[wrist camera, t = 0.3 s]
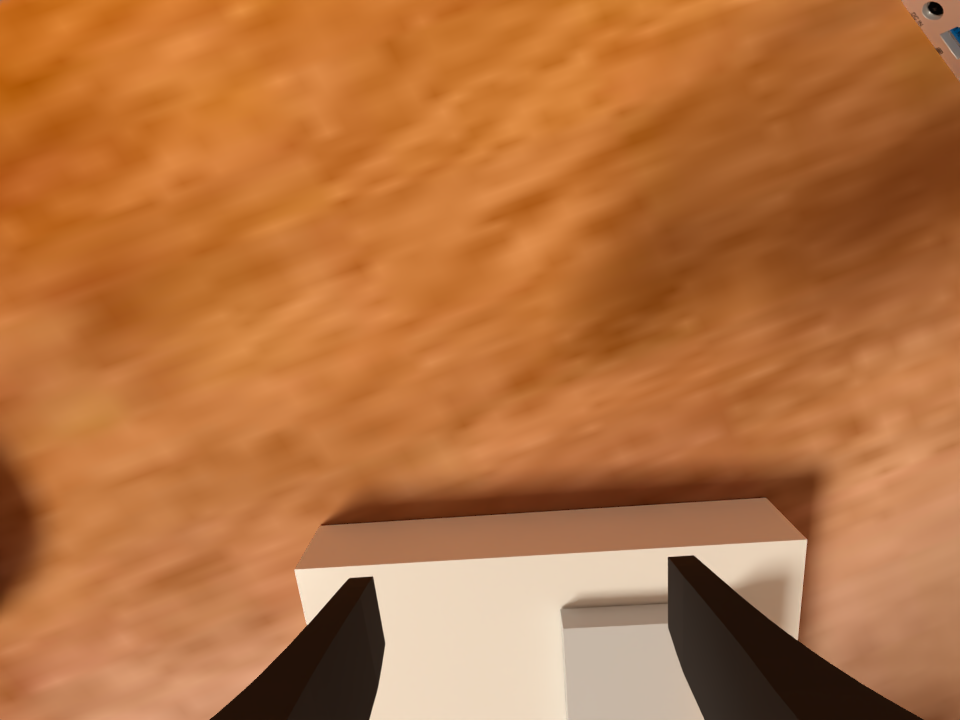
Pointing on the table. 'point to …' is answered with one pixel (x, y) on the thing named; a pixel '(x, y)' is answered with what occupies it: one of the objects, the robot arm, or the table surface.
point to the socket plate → (533, 592)
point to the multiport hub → (940, 27)
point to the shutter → (623, 665)
